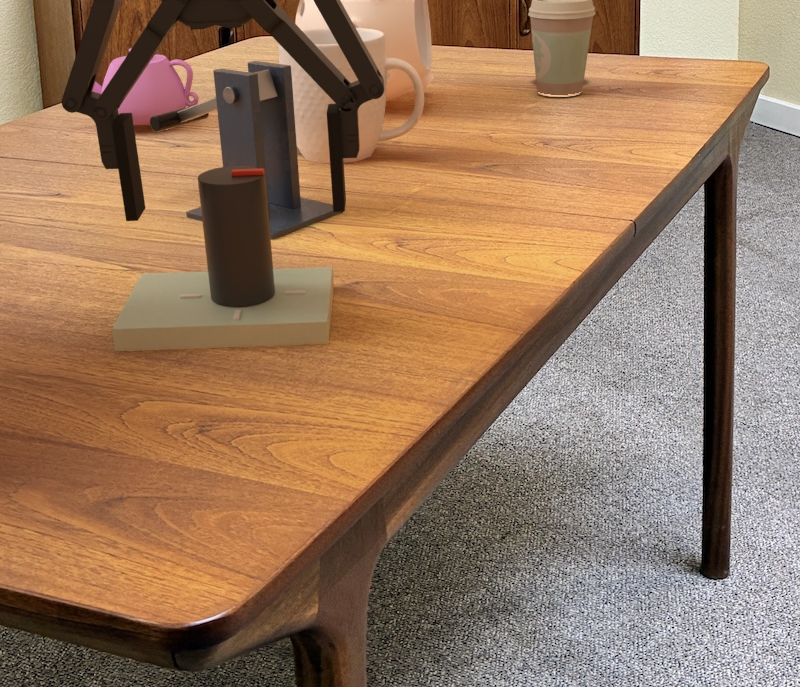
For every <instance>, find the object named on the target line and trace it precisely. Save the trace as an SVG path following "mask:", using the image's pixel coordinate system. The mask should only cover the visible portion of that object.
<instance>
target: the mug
mask: <svg viewBox="0 0 800 687" xmlns="http://www.w3.org/2000/svg"><path fill="white" fill-rule="evenodd" d="M356 30H357V32H358V33H359V35H360V37H361V39H362V41H363V42H364V44H365V46H366V48H367V50H368V51H369V53H370V55H371V57H372V59H373V60H374V62H375V64H376V66H377V68H378V69H379V71H380V73H381V75H382V77H383V79H384V93H383V95H382V96H381V97H380V98H378V99H372V100H369V101H367V102H365V103H363V104H362V105H361V106H360V107H359V109H358V124H359V142H360V148H359V153H358V156H357V158H343V161H344V164H348V163H354V162H359V161H363V160H365V159H368V158H371V157H372V156H373V153H374V152H375V149H376V148H377V145H378V142H384V141H389V140H393V139H396V138H399V137H402V136H404V135H406V134H407V133H409V132H410V131H411V130H413V129H414V127H416V125H418V122H419V120H420V118H421V117H422V114H423V111H424V105H425V89H423V84H422V81H421V79H420V77H419V75H418V73H417V71H416V70H415V69H414V68H413V67H412V66H411V65H410V64H409V63H407V62H405V61H403V60H400V59H397V58H387V57H386V53H385V35H384V33H383V32H381V31H378V30H374V29H366V28H356ZM302 31H303V32H304V34H305V35H306V36H307V37H308V38H309V39H310V40H311V41H312V42H313V43H314V44H315V45H316V46H317V47H318V49H319V50H320V51H321V52H322V53H323V54H324V55H325V56H326V57H327V58H328V59H329V60H330V61H331V62H332V63H333V65H334V66H335V67H336V68H337V69H338V70H339V71H340V72H341V73H342V74H343V75H344V76H345V77H346V78H347V80H348V81H349V82H350V83H353V82H355V81H357V80H358V79H357V77H356V75H355V73H354V72H353V70H352V68H351V66H350V64H349V63H348V61H347V59H346V57H345V56H344V54H343V52H342V50H341V48H340V47H339V45H338V43H337V41H336V40H335V38H334V36H333V34H332V32H331V31H330V29H329V28H319V29H308V30H302ZM277 48H278V64H283V65H290V66H291V73H292V87H293V101H294V115H295V129H296V143H297V150H298V151H299V152H300V154H301V155H302V157H303V158H304V159H305V160H307V161H309V162H313V163H318V164H329V165H330V155H329V140H328V126H327V109H328V104H336V103H335V102H334V101H333V100H332V99H331V98H330V97H329V96H328V95H327V94H326V93H325V92H324V91H323V89H322V88H321V87H320V86H319V85H318V84H317V83H316V82H315V81H314V80H313V79H312V78H311V77H310V76H309V75H308V74H307V73H306V72H305V71H304V69H303V68H302V67H301V66H300V65H299V64H298V63H297V62H296V61H295V60H294V59H293V58H292V57H291V56H290V55H289V54H288V53H287V52H286V50H285V49H284V48H283V47H282V46H281V45H280V44H279V43H278V42H277ZM391 69H400V70H402V71H404V72H405V73H406V74H408V76H409V77H410V79H411V80H412V82H413V85H414V88H413V89H414V92H415V102H414V103H415V104H414V108H413V111H412V113H411V115H410V117H409V118H408V119H407V121H405V122H404V123H403V124H402V125H401V126H399V127H396V128H393V129H387V130H386V129H384V130H383V124H384V119H385V113H386V105H387V102H386V90H387V89H386V85H387V80H386V79H387V75H386V71H387V70H391Z"/></svg>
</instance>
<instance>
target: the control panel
mask: <svg viewBox="0 0 800 687" xmlns="http://www.w3.org/2000/svg"><path fill="white" fill-rule="evenodd" d="M273 273H274V285H275V294H274V296H273V297H272V298H271V299H269V300H267V301H265V302H263V303H260V304H256V305H252V306H244V307H230V306H223V305H219V304H217V303H215V302H213V301H212V299H211V294H210V285H209V276H208V270H206V271H205V270H202V271H179V272H177V271H174V272H151V273H150V272H149V273H147V272H146V273H141V274H140V276H139V278H138V279H137V281H136V283H135V285H134V287H133V288H132V291H131V293H130V294H129V296H128V298H127V300H126V302H125V304H124V305H123V307H122V309H121V311H120V312H119V315H118V316H117V318H116V320H115V322H114V324H113V326H112V327H111V334H112V342H113V347H114V352H132V351H133V352H135V351H138V352H139V351H158V350H159V351H161V350H184V349H185V350H188V349H189V350H190V349H191V350H193V349H194V350H195V349H215V348H216V349H218V348H220V349H221V348H244V347H272V346H273V347H274V346H275V347H276V346H303V345H305V346H306V345H326V344H327V345H328V344H329V343H330V332H331V323H332V322H331V321H332V311H333V302H334V301H333V300H334V292H335V291H334V289H335V281H334V280H335V279H334V267H333V266H321V267H320V266H319V267H314V266H313V267H292V268H291V267H289V268H286V267H285V268H273Z"/></svg>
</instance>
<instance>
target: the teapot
mask: <svg viewBox="0 0 800 687" xmlns="http://www.w3.org/2000/svg"><path fill="white" fill-rule="evenodd" d="M131 49H132V47H130V48H128V53H129V52H130V50H131ZM126 56H127V55H124V56H120V57H116V58H114V59H112V61H111V62H110V64H109V66H108V68H107V70H106V73H105V76H104V79H103V82H102V85H101V84H100V83H98V82H97V80H96V81H95V84H94V87H93V90H92V91H93V92H96V93H99V94H102V92H103V91H104V89H105V88H106V86H107V85H108V83H109V82H110V80H111V79H112V77H113V76H114V74H115V73H116V71H117V70H118V68H119V67H120V65H121V64H122V62H123V61H124V59H125V58H126ZM174 66H180V67H183V68H184V69H185V71H186V81H185V82H186V83H185V86H184V84H183V81H182V79H181V77H180V76H179V74H178V72H177V70H176V69H175V67H174ZM193 79H194V70H193V68H192V66H191V65H190V64H189V63H188V62H187V61H185V60H182V59H177V58H175V59H172V60H169V59H168V57H167V56H166V55H163V54H155V55H154V57H153V58H152V59H151V61H150V62H149V64H148V65H147V67H146V68H145V70H144V71H143V73H142V74H141V76H140V77H139V79H138V80H137V82H136V83H135V85H134V86H133V88H132V89H131V91H130V92H129V93H128V95H127V96H126V98H125V99H124V101H123V102H122V104H121V105H120V108H119V109H118V113H119V114H120V113H132V117H133V124H134V126H150V118H151V117H152V116H156V115H160V114H164V113H167V112H171V111H175V110H179V109H183V108H187V107H191V106H194V105H197V104H199V100H200V98H199V95H198V93H196V92H195V91H191V89H192V85H193ZM190 97H192V98H193V100H190Z"/></svg>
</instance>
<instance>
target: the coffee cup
mask: <svg viewBox="0 0 800 687" xmlns="http://www.w3.org/2000/svg"><path fill="white" fill-rule="evenodd" d="M595 15H596V6H594V1H593V0H531V4H530V7H529V8H528V13H527V16H528V17H529V18H530V29H531V39H532V40H531V41H532V52H533V62H534V74H535V84H536V92H537V91H538V92H540V93H544V94H551V95H568V94H575V93H579V92H581V91H582V92H583V89H584V88H583V87H584V82H585V75H586V68H587V61H588V54H589V48H590V41H591V36H592V35H591V34H592V26H593V20H594V16H595Z"/></svg>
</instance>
